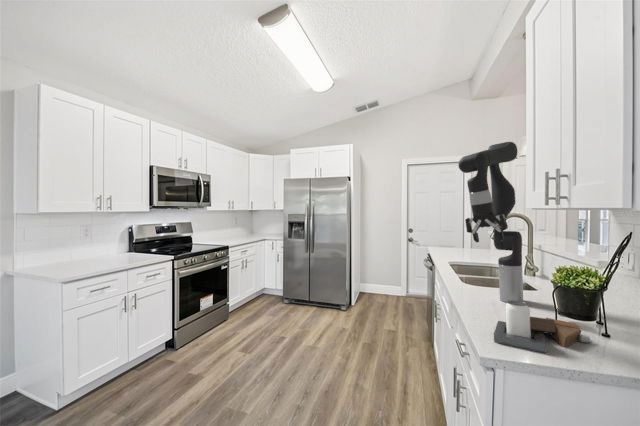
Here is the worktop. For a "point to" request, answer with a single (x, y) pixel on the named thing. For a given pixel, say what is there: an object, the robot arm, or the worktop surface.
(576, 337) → the wooden blocks
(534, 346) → the gray square frame plate
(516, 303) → the can
